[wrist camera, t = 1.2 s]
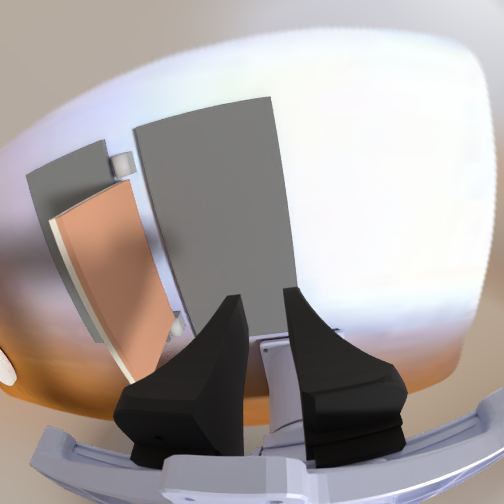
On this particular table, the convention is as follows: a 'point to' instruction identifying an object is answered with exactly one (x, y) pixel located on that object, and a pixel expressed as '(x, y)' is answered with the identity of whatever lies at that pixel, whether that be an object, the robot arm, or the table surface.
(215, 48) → the table surface
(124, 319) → the flap
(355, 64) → the table surface
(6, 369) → the plastic lid
